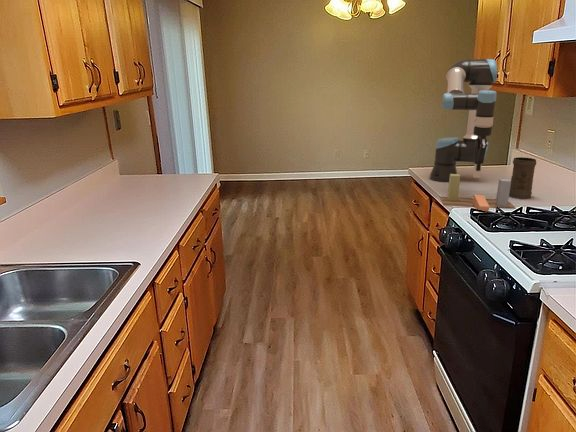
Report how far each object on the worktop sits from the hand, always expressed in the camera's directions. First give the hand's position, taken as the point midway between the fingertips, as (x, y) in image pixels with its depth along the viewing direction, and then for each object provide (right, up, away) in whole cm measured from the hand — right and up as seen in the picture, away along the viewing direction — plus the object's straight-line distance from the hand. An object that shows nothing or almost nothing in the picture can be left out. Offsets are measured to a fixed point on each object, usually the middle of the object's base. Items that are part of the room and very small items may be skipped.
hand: (476, 177), depth 213 cm
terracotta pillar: (-2, -10, -6) cm, 12 cm away
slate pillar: (+8, -14, -7) cm, 17 cm away
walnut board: (-1, -13, -1) cm, 13 cm away
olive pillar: (-10, -11, +3) cm, 15 cm away
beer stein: (+25, -9, +11) cm, 28 cm away
